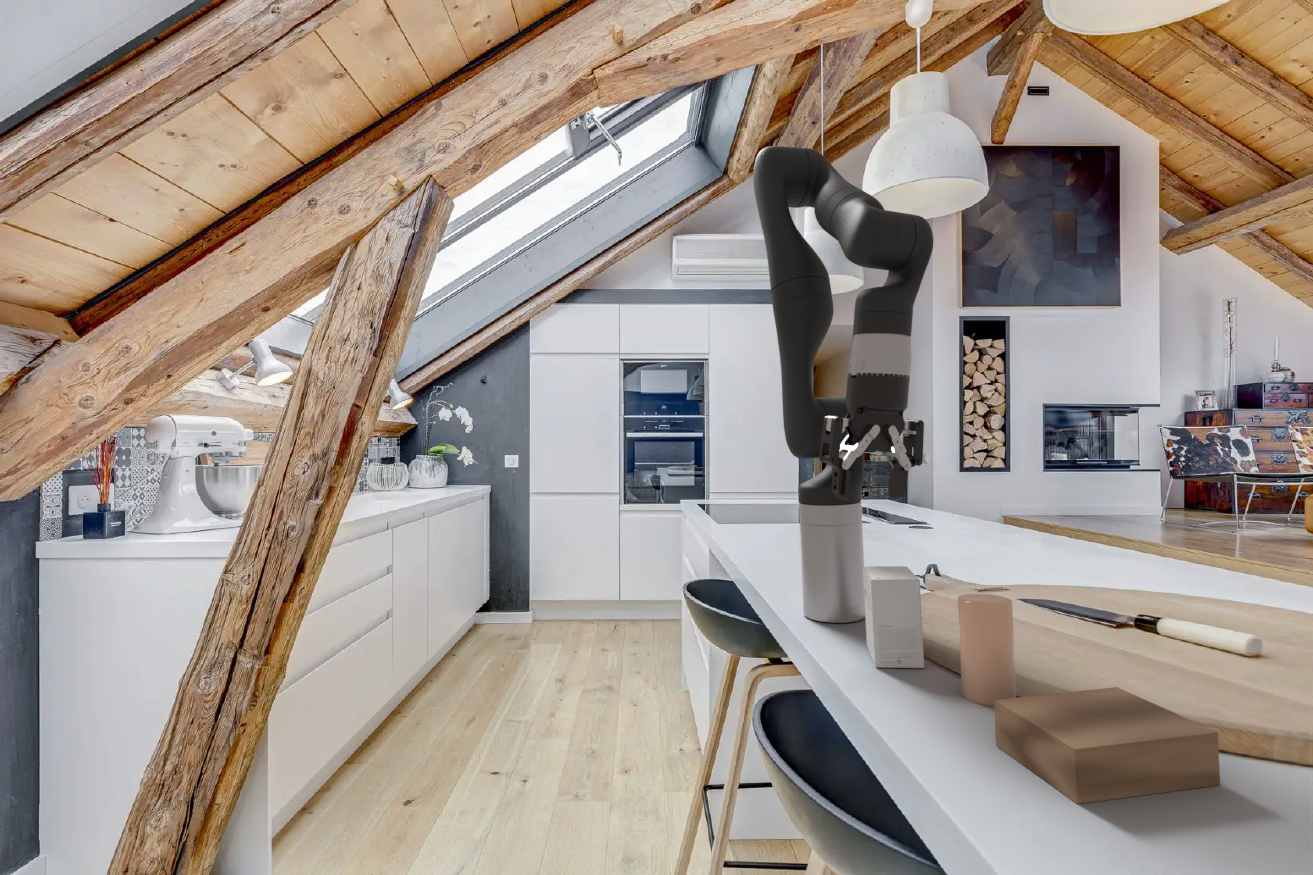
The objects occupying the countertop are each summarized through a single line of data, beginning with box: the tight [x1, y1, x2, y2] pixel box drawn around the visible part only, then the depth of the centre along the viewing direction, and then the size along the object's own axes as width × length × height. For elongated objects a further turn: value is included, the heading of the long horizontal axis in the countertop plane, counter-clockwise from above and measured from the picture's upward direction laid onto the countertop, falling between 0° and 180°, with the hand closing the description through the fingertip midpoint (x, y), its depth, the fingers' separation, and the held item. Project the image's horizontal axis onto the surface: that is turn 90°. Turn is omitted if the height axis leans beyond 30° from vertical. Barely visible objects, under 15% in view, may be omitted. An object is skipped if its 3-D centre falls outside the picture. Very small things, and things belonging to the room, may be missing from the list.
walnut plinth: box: [993, 686, 1221, 805], centre depth 52 cm, size 9×12×4 cm
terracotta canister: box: [957, 593, 1017, 707], centre depth 66 cm, size 5×5×10 cm
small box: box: [863, 565, 925, 669], centre depth 78 cm, size 8×6×10 cm
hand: (868, 498), depth 82 cm, fingers open, 8 cm apart
